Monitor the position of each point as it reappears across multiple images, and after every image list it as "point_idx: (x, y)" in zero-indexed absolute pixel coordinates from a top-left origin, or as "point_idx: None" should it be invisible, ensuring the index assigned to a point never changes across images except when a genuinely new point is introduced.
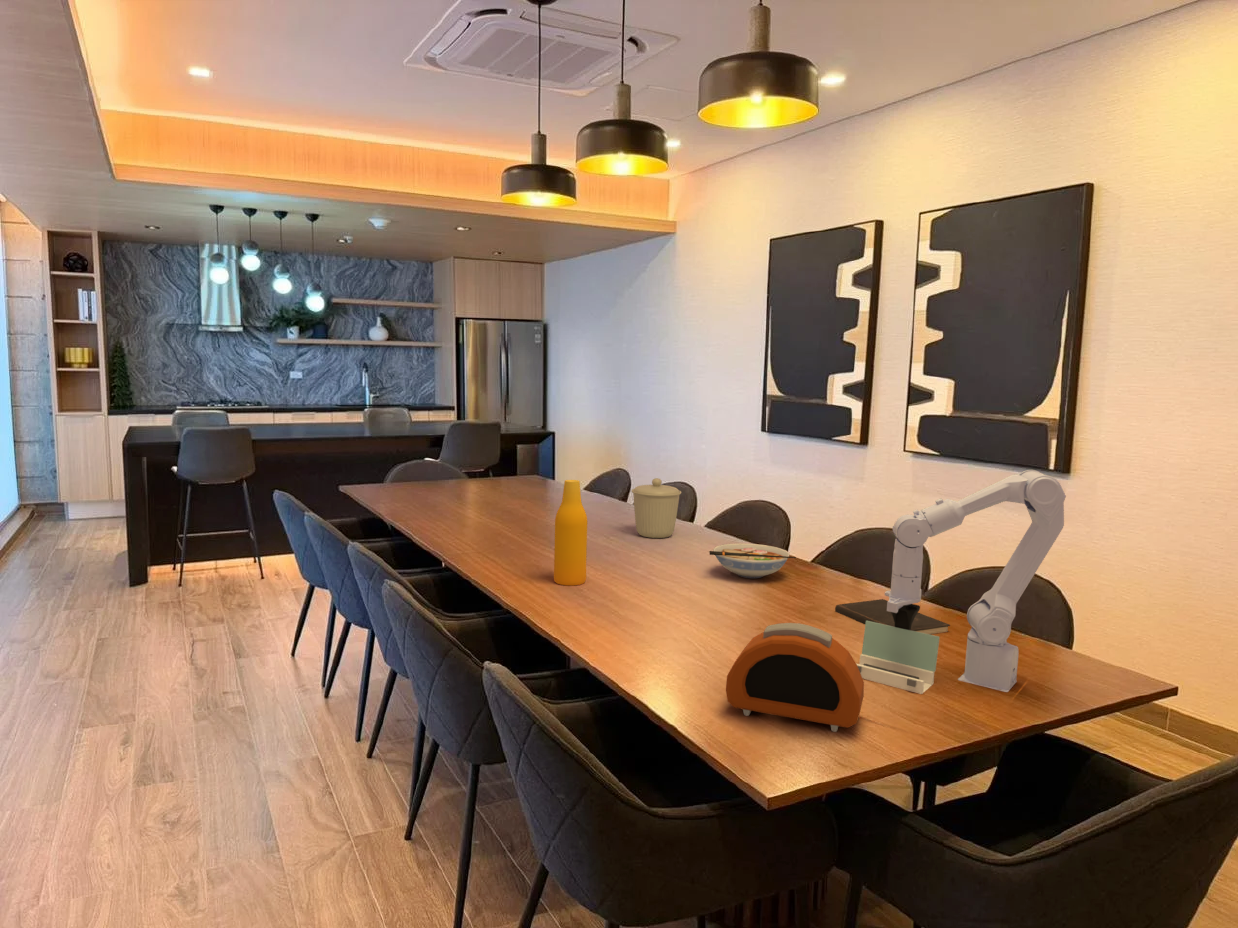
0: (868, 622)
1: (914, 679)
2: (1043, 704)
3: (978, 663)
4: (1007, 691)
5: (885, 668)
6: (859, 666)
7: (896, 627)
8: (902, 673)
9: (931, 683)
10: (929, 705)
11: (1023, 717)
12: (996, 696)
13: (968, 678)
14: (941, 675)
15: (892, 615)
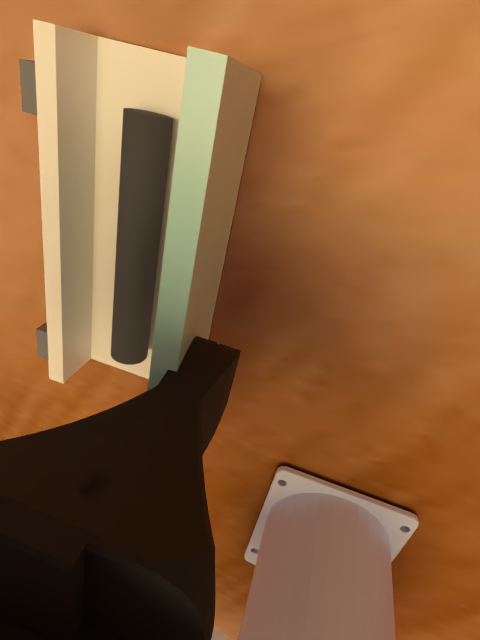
0: (187, 92)
1: (51, 353)
2: (225, 596)
3: (252, 580)
4: (248, 561)
5: None
6: (28, 104)
7: (158, 382)
8: (122, 308)
9: None
10: (39, 364)
11: None
12: (219, 527)
13: (286, 501)
14: (331, 426)
15: (76, 421)
